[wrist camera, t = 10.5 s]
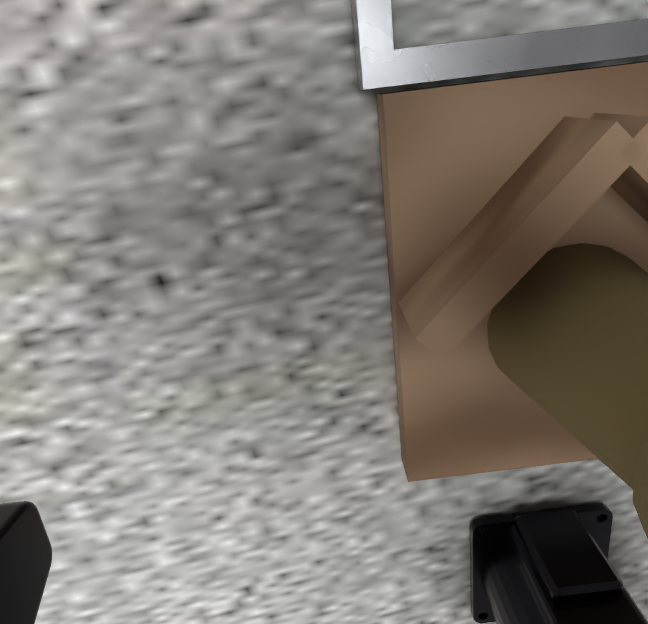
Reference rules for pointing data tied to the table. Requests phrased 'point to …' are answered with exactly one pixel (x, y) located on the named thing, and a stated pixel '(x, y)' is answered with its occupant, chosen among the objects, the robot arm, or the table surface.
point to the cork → (583, 352)
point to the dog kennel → (497, 242)
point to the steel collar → (481, 49)
